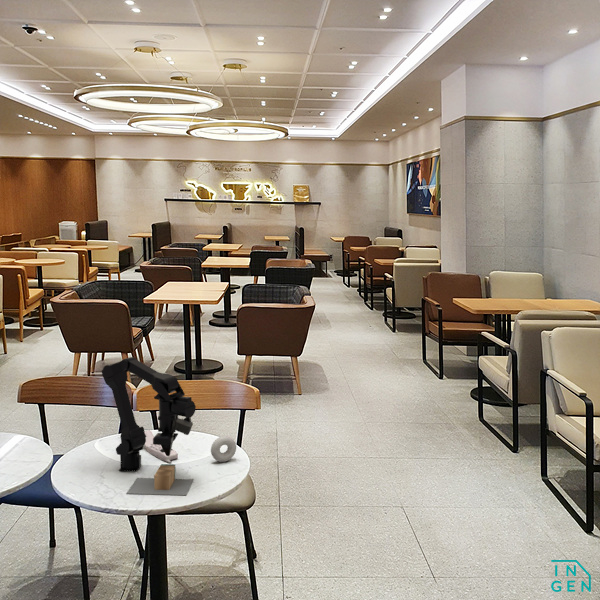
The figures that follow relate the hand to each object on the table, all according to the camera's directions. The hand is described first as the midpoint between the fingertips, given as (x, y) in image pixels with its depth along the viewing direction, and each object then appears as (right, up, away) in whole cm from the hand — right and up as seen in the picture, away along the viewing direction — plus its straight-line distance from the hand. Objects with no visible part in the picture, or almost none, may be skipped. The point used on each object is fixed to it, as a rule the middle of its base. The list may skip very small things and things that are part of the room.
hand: (168, 455), depth 233 cm
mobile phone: (-9, -6, +26) cm, 28 cm away
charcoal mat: (-1, -9, -6) cm, 11 cm away
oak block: (0, -6, +1) cm, 6 cm away
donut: (+17, -7, +18) cm, 26 cm away
